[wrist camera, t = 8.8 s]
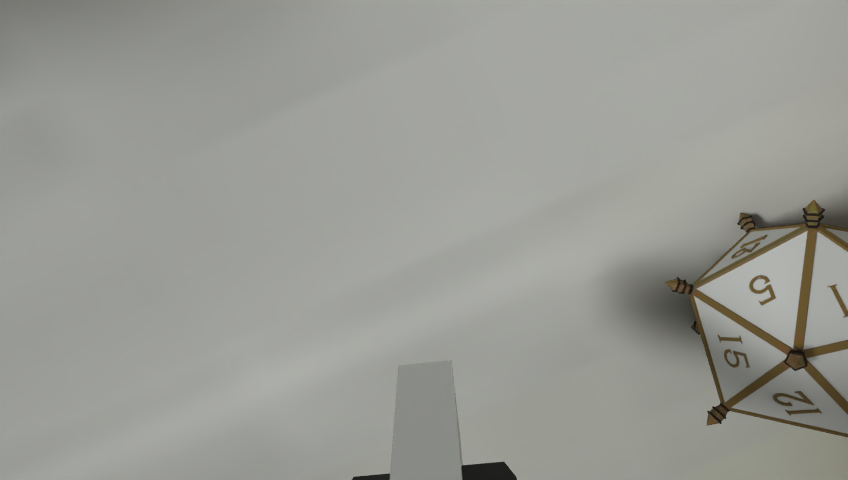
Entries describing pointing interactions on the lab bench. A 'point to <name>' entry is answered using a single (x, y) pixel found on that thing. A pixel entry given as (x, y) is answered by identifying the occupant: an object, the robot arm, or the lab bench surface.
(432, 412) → the robot arm
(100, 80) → the lab bench surface
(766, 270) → the game die
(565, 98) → the lab bench surface
